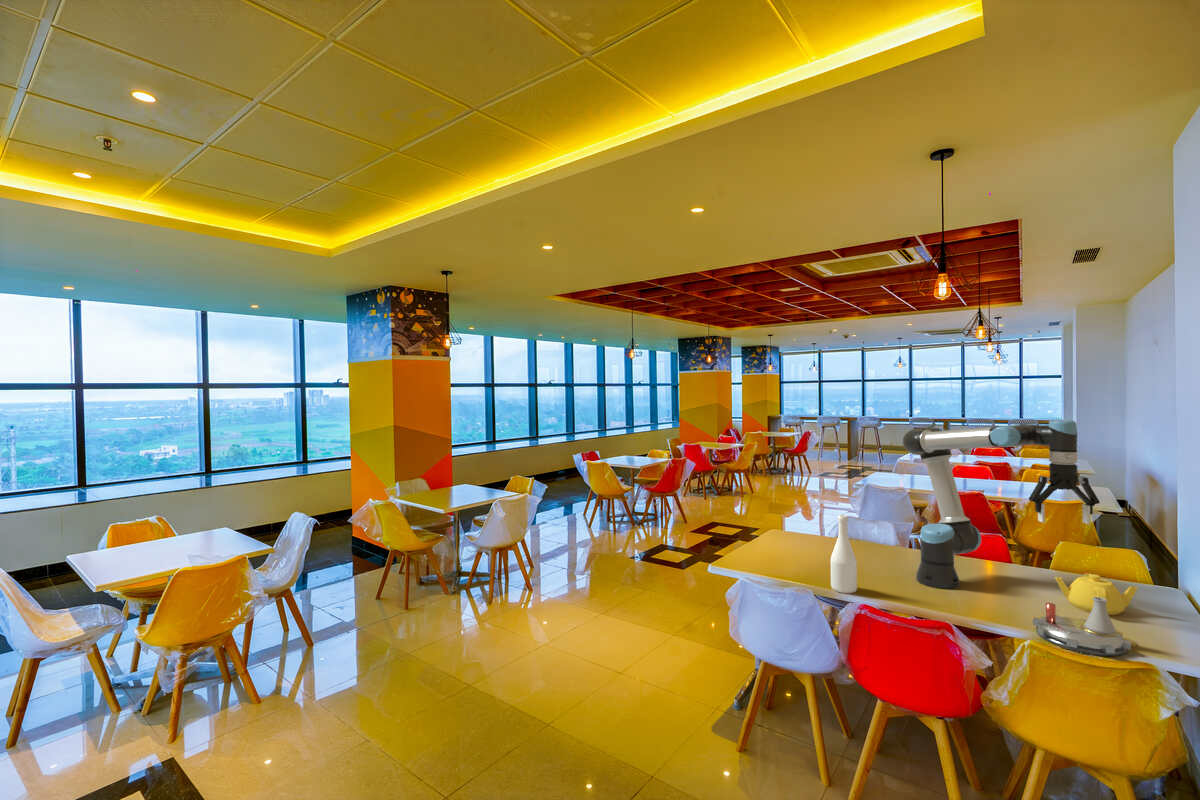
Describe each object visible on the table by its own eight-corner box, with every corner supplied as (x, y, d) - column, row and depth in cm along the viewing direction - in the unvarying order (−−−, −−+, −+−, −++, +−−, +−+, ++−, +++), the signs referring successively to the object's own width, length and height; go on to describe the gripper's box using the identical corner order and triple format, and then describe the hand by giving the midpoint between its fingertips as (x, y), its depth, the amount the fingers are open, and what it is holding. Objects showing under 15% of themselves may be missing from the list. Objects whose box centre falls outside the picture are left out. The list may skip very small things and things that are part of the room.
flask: (1077, 625, 168) (1077, 594, 168) (1098, 624, 168) (1098, 593, 168) (1101, 636, 161) (1100, 603, 161) (1122, 635, 161) (1122, 602, 161)
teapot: (1104, 620, 180) (1103, 585, 180) (1052, 601, 196) (1051, 569, 196) (1139, 614, 184) (1139, 580, 184) (1085, 597, 200) (1085, 565, 200)
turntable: (1124, 661, 150) (1124, 633, 150) (1024, 634, 168) (1024, 609, 167) (1135, 637, 164) (1135, 612, 164) (1042, 614, 182) (1042, 591, 182)
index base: (1060, 652, 158) (1060, 648, 158) (1022, 622, 178) (1022, 619, 178) (1160, 661, 152) (1160, 657, 152) (1109, 629, 173) (1109, 625, 172)
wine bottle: (860, 589, 211) (859, 515, 211) (852, 596, 204) (851, 519, 204) (835, 583, 218) (834, 511, 218) (827, 590, 211) (826, 515, 211)
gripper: (1028, 464, 187) (1028, 523, 187) (1112, 465, 181) (1113, 526, 181) (1017, 461, 194) (1017, 518, 194) (1097, 462, 188) (1098, 521, 188)
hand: (1063, 522), depth 187 cm, fingers open, 13 cm apart
